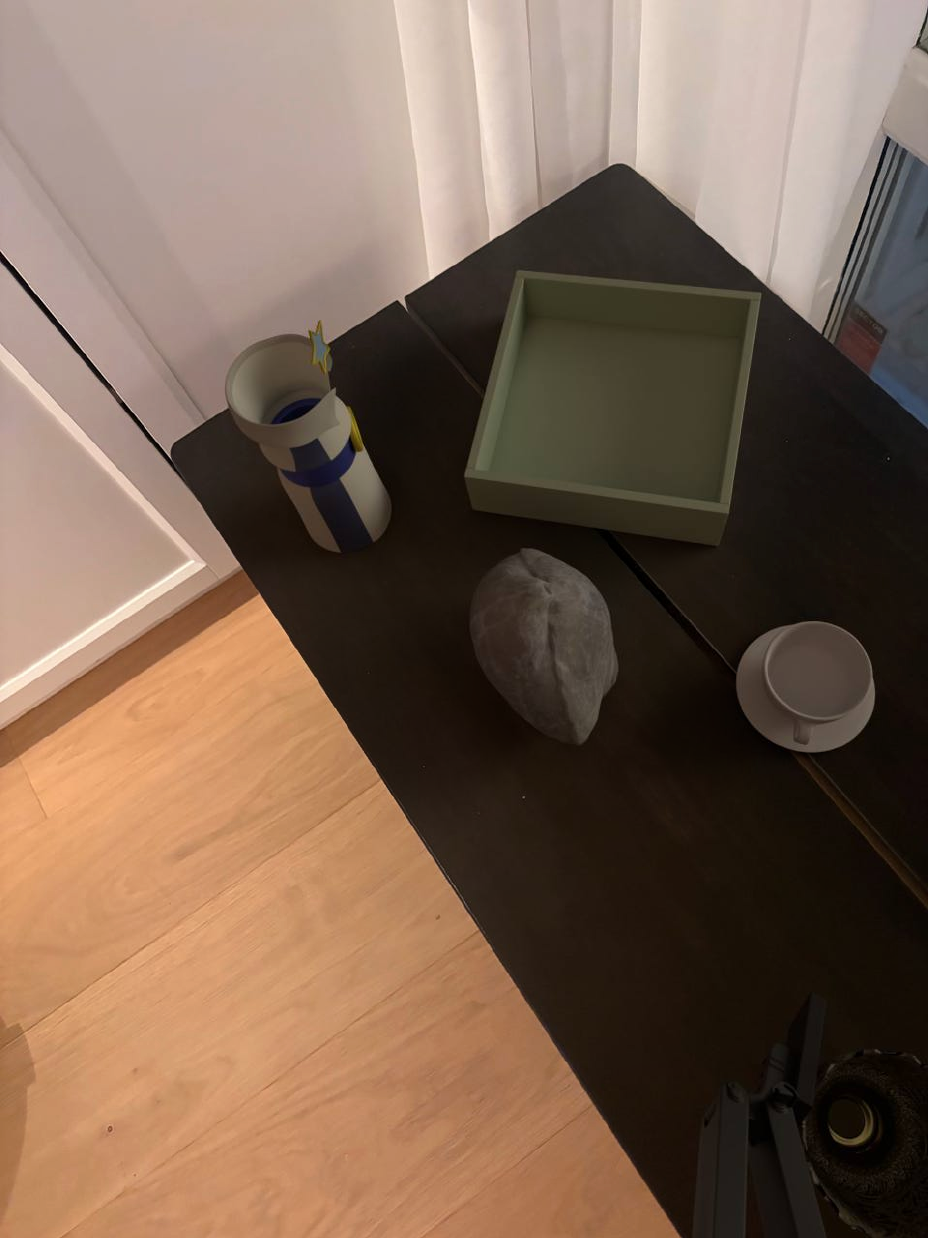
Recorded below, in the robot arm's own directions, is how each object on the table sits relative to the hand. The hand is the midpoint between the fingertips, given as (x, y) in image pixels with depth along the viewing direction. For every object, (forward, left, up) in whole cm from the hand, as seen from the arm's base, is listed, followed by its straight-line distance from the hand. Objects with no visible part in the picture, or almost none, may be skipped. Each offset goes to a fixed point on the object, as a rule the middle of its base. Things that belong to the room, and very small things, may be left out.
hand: (890, 1058), depth 43 cm
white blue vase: (+33, +42, -19) cm, 56 cm away
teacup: (+24, +3, -19) cm, 30 cm away
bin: (+45, +21, -19) cm, 53 cm away
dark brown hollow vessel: (-3, +1, -4) cm, 5 cm away
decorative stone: (+22, +22, -19) cm, 36 cm away
